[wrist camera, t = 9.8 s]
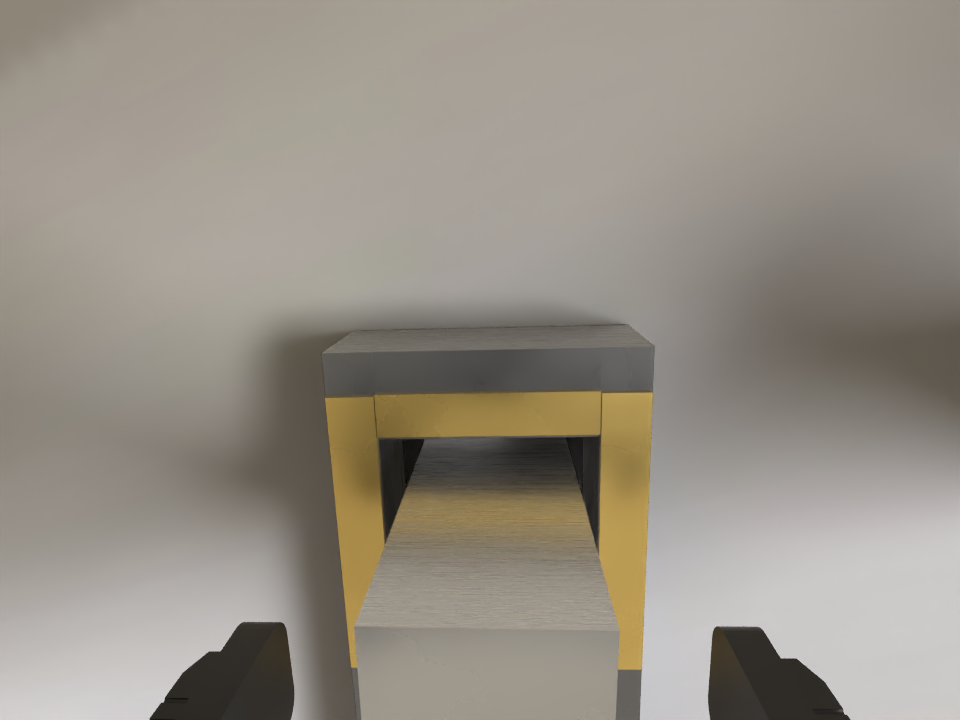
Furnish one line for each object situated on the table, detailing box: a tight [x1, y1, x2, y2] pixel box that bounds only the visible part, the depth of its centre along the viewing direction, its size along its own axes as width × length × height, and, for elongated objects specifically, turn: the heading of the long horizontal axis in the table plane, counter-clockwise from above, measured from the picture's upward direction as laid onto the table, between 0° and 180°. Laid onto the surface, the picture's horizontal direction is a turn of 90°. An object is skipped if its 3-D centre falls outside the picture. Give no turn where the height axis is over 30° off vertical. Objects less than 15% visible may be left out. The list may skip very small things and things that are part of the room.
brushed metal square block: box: [354, 437, 620, 720], centre depth 13 cm, size 4×4×9 cm
